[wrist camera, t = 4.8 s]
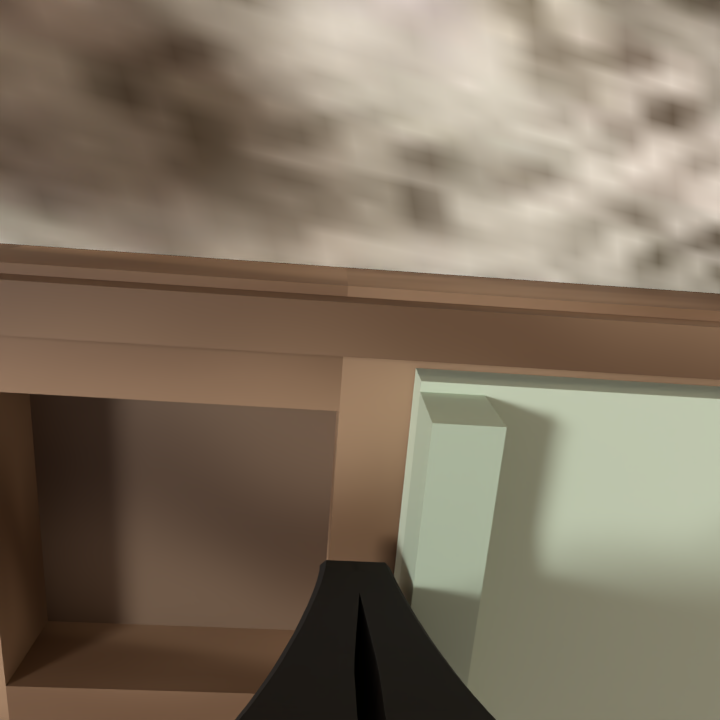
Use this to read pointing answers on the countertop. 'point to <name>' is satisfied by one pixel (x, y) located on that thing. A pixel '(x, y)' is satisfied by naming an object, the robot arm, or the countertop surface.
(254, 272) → the wooden tray
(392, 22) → the countertop surface
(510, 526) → the cover
